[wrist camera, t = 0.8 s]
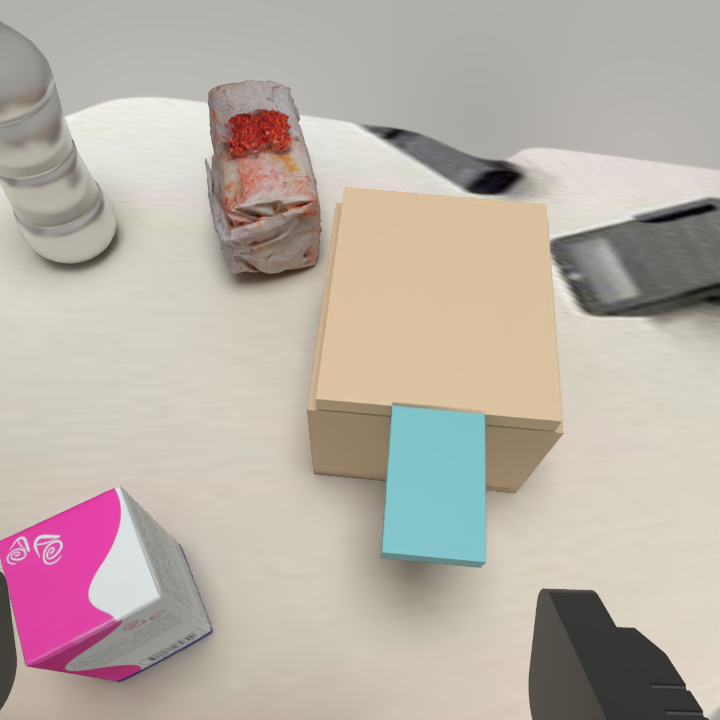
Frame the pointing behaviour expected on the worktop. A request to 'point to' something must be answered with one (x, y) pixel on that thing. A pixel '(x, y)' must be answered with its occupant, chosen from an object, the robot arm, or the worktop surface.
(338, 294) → the flap
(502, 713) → the worktop surface
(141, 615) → the supplement box
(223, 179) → the food item
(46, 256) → the plastic bottle
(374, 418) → the carton
